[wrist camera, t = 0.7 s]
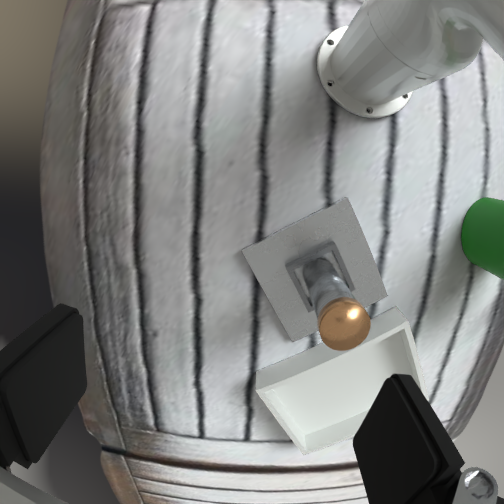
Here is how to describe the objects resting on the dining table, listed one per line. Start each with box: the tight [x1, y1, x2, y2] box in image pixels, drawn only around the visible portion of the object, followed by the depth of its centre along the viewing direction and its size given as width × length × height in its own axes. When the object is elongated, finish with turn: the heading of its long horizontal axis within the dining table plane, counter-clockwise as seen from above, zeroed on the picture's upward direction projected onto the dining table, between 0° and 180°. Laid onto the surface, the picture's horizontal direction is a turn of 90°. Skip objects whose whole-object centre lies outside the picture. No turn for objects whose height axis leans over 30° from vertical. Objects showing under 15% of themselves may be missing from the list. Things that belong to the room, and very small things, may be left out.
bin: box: [256, 306, 429, 455], centre depth 41 cm, size 22×17×4 cm
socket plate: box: [242, 197, 388, 342], centre depth 38 cm, size 14×14×2 cm
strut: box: [304, 259, 371, 351], centre depth 32 cm, size 4×4×14 cm
